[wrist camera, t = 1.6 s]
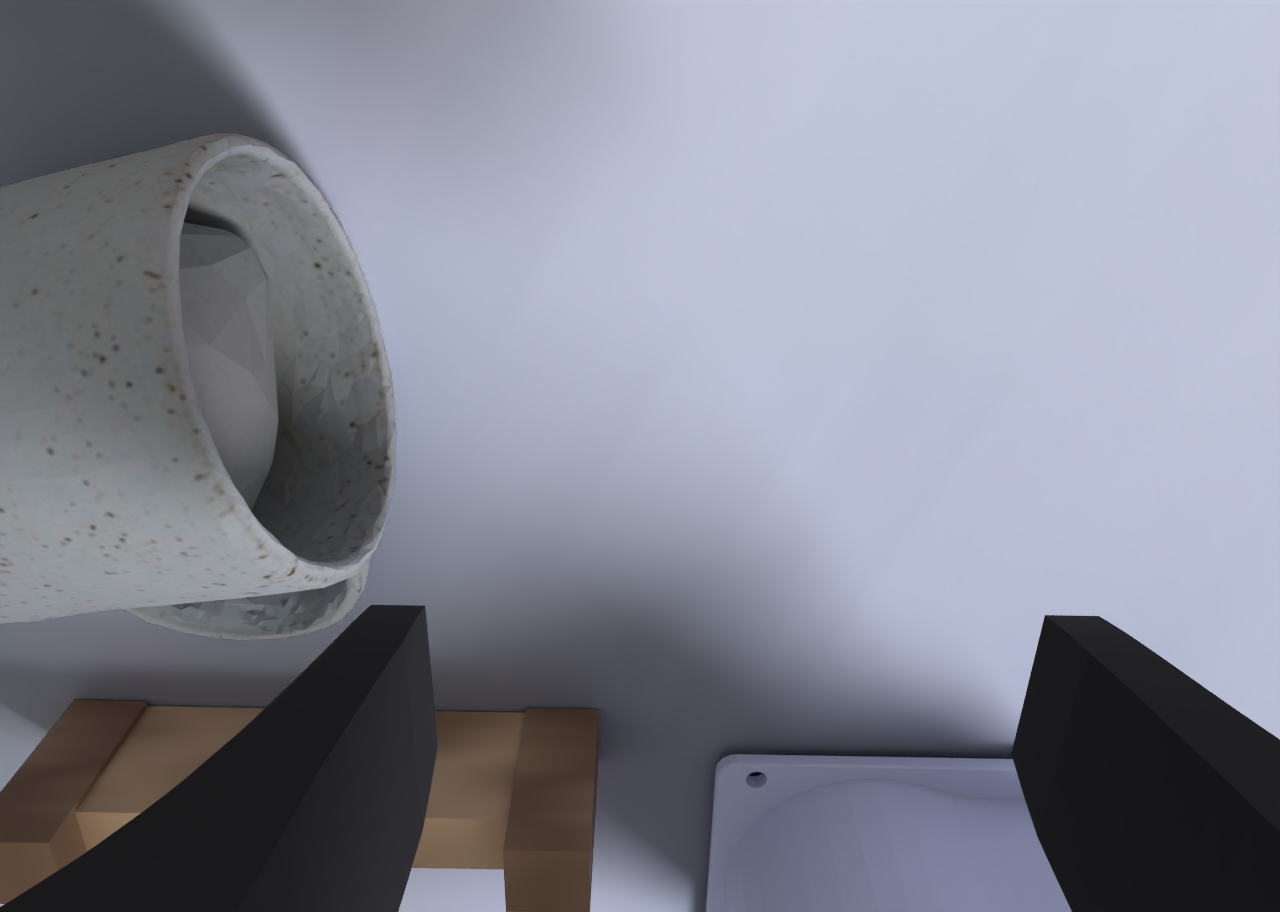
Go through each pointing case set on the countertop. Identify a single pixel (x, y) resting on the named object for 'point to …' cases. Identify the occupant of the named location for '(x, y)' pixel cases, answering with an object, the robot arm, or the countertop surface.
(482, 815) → the cedar frame
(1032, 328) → the countertop surface
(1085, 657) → the robot arm
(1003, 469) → the countertop surface
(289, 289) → the ceramic mug
